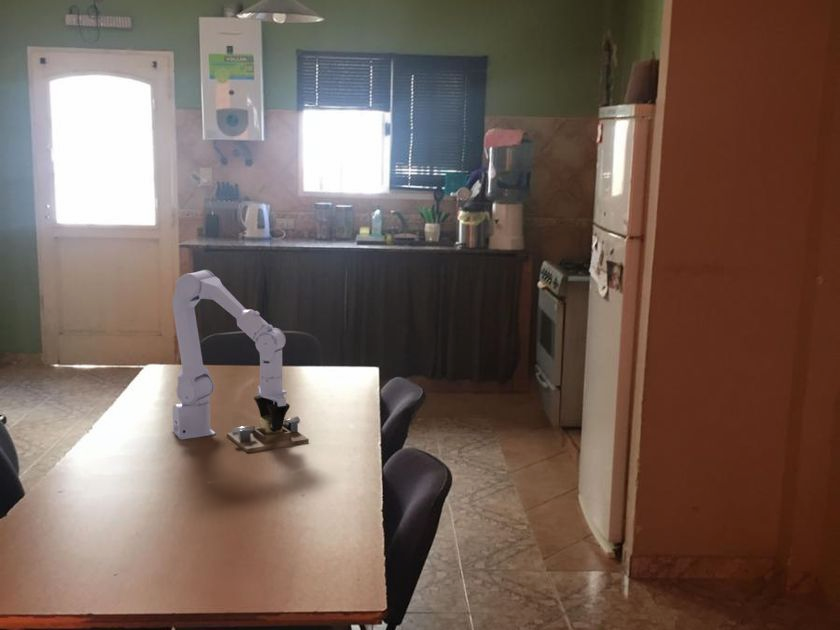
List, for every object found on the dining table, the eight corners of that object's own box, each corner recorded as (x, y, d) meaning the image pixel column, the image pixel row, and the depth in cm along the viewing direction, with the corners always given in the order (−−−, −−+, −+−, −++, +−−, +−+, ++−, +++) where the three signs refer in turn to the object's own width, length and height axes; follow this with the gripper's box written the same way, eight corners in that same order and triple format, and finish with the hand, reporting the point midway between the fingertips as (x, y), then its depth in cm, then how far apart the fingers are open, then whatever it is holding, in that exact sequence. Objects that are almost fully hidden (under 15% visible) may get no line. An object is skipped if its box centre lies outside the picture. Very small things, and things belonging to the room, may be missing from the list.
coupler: (283, 439, 228) (282, 419, 227) (266, 441, 226) (266, 421, 225) (276, 433, 232) (275, 413, 231) (259, 436, 230) (259, 415, 229)
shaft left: (233, 443, 224) (233, 429, 223) (231, 439, 227) (231, 425, 227) (255, 441, 226) (255, 428, 225) (253, 437, 229) (253, 424, 229)
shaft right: (292, 428, 238) (292, 415, 237) (302, 430, 236) (301, 417, 235) (279, 432, 234) (279, 419, 233) (289, 434, 232) (289, 421, 231)
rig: (246, 452, 220) (246, 441, 219) (226, 436, 232) (226, 425, 232) (308, 442, 229) (308, 431, 228) (286, 427, 241) (286, 417, 241)
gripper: (296, 380, 222) (297, 431, 224) (275, 368, 234) (275, 417, 237) (270, 383, 218) (271, 435, 221) (250, 371, 231) (250, 420, 233)
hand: (271, 426), depth 228 cm, fingers open, 7 cm apart
